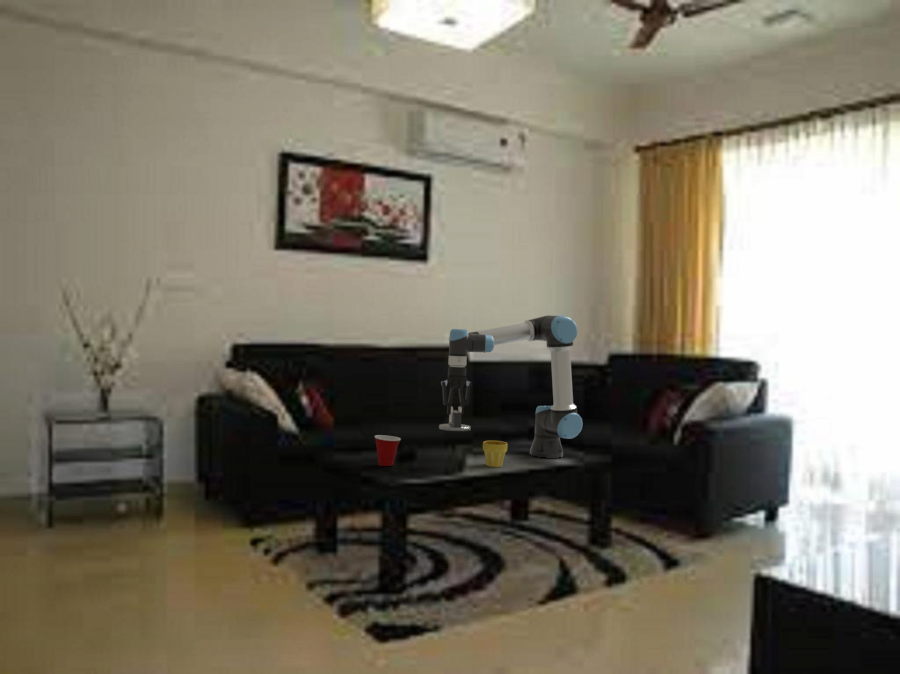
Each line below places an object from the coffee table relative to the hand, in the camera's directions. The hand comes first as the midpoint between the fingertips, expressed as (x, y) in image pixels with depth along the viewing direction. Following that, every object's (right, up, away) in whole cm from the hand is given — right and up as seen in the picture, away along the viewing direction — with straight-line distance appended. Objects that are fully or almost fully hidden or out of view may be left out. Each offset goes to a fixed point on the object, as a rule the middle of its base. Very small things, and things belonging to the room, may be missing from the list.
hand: (455, 422), depth 333 cm
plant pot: (+17, -19, +5) cm, 26 cm away
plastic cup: (-28, -17, -7) cm, 33 cm away
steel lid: (0, -3, 0) cm, 3 cm away
